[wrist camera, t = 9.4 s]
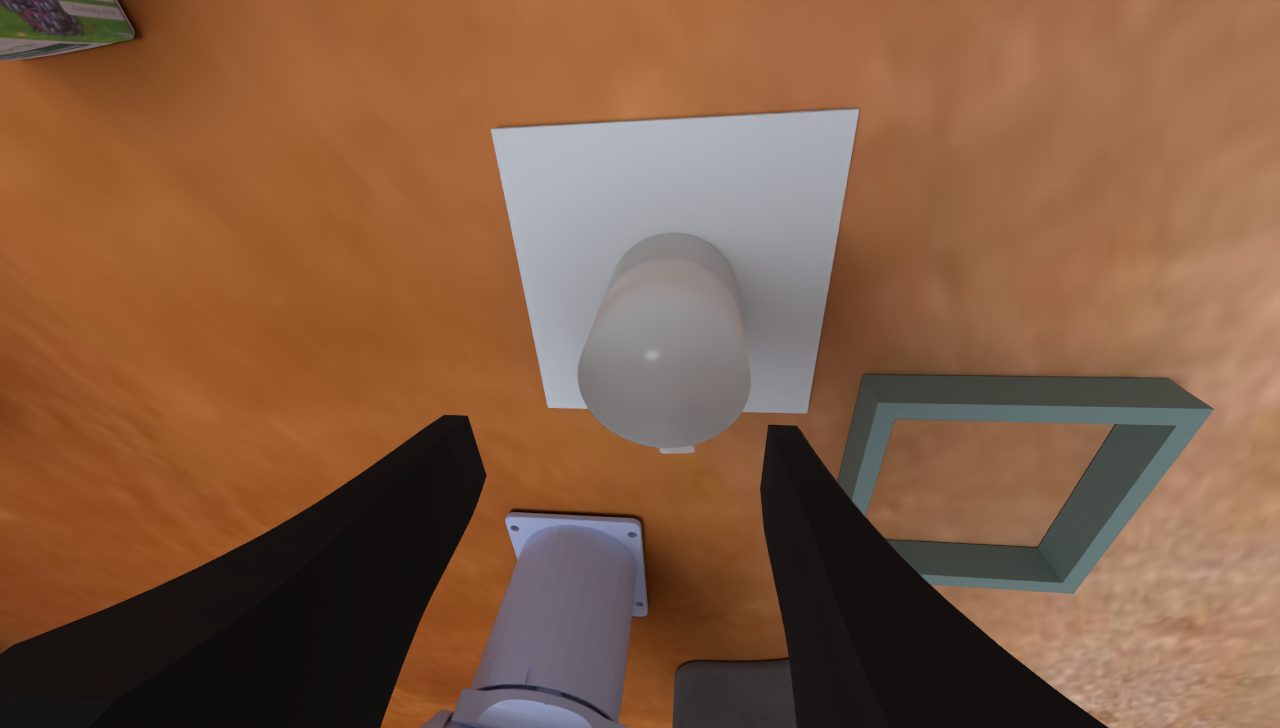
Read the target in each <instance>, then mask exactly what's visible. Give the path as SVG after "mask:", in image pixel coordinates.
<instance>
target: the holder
mask: <svg viewBox="0 0 1280 728" xmlns="http://www.w3.org/2000/svg"><path fill="white" fill-rule="evenodd" d="M1213 410H1214V409H1213V408H1212V407H1210V406H1209V405H1207V404H1206V403H1204V402H1203V401H1201V400H1199V399H1198V398H1196V397H1195V396H1193V395H1192V394H1190V393H1189V392H1187V391H1186V390H1184V389H1183V388H1181V387H1180V386H1178V385H1177V384H1175V383H1174V382H1172V381H1171V380H1169V379H1168V378H1101V377H1019V376H937V375H863V378H862V382H861V386H860V390H859V395H858V399H857V403H856V407H855V411H854V415H853V419H852V424H851V428H850V432H849V436H848V440H847V444H846V449H845V453H844V457H843V461H842V465H841V469H840V474H839V478H838V484H839V485H840V486H841V487H842V489H843V490H844V491H845V493H846V494H847V495H848V496H849V498H850V499H851V500H852V501H853V503H854V504H855V505H856V506H857V507H858V509H859V510H860V511H861V512H862V513H863V515H864V516H866V513H867V510H868V506H869V503H870V500H871V496H872V493H873V490H874V486H875V483H876V480H877V477H878V473H879V470H880V467H881V463H882V460H883V457H884V453H885V450H886V447H887V444H888V440H889V437H890V434H891V430H892V427H893V424H894V420H895V419H916V420H959V421H1003V422H1046V423H1089V424H1116V425H1115V426H1114V428H1113V430H1112V431H1111V433H1110V434H1109V436H1108V438H1107V439H1106V441H1105V442H1104V444H1103V445H1102V447H1101V449H1100V450H1099V452H1098V453H1097V455H1096V456H1095V458H1094V460H1093V461H1092V463H1091V464H1090V466H1089V468H1088V469H1087V471H1086V472H1085V474H1084V475H1083V477H1082V479H1081V480H1080V482H1079V483H1078V485H1077V487H1076V488H1075V490H1074V491H1073V493H1072V494H1071V496H1070V498H1069V499H1068V501H1067V502H1066V504H1065V505H1064V507H1063V509H1062V510H1061V512H1060V513H1059V515H1058V517H1057V518H1056V520H1055V521H1054V523H1053V524H1052V526H1051V528H1050V529H1049V531H1048V532H1047V534H1046V535H1045V537H1044V539H1043V540H1042V542H1041V543H1040V545H1039V547H1038V548H1033V547H1014V546H995V545H976V544H958V543H939V542H920V541H901V540H887V542H888V543H889V544H890V545H891V546H892V547H893V548H894V549H895V550H896V551H897V552H898V553H899V554H900V555H901V556H902V557H903V558H904V559H905V560H906V561H907V562H908V563H909V564H910V565H911V566H912V567H913V568H914V569H915V570H916V571H917V572H918V573H919V574H920V575H921V576H922V577H923V578H924V579H925V580H926V581H927V582H928V583H929V584H930V585H944V586H960V587H976V588H991V589H1007V590H1023V591H1038V592H1054V593H1070V594H1074V592H1075V591H1076V590H1077V588H1078V587H1079V586H1080V584H1081V583H1082V582H1083V581H1084V579H1085V578H1086V577H1087V575H1088V574H1089V573H1090V571H1091V570H1092V569H1093V567H1094V566H1095V565H1096V563H1097V562H1098V561H1099V560H1100V558H1101V557H1102V556H1103V554H1104V553H1105V552H1106V550H1107V549H1108V548H1109V546H1110V545H1111V544H1112V542H1113V541H1114V540H1115V538H1116V537H1117V536H1118V535H1119V533H1120V532H1121V531H1122V529H1123V528H1124V527H1125V525H1126V524H1127V523H1128V521H1129V520H1130V519H1131V517H1132V516H1133V515H1134V514H1135V512H1136V511H1137V510H1138V508H1139V507H1140V506H1141V504H1142V503H1143V502H1144V500H1145V499H1146V498H1147V496H1148V495H1149V494H1150V493H1151V491H1152V490H1153V489H1154V487H1155V486H1156V485H1157V483H1158V482H1159V481H1160V479H1161V478H1162V477H1163V475H1164V474H1165V473H1166V472H1167V470H1168V469H1169V468H1170V466H1171V465H1172V464H1173V462H1174V461H1175V460H1176V458H1177V457H1178V456H1179V454H1180V453H1181V452H1182V450H1183V449H1184V448H1185V447H1186V445H1187V444H1188V443H1189V441H1190V440H1191V439H1192V437H1193V436H1194V435H1195V433H1196V432H1197V431H1198V429H1199V428H1200V427H1201V426H1202V424H1203V423H1204V422H1205V420H1206V419H1207V418H1208V416H1209V415H1210V414H1211V412H1212V411H1213Z"/></svg>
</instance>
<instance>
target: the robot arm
mask: <svg viewBox="0 0 1280 728" xmlns="http://www.w3.org/2000/svg"><path fill="white" fill-rule="evenodd" d="M485 479H486V473H485V470H484V466H483V463H482V460H481V457H480V454H479V450H478V447H477V444H476V441H475V438H474V434H473V431H472V428H471V425H470V422H469V419H468V416H460V415H444V416H442V417H440V418H439V419H437V420H436V421H434V422H433V423H431V424H430V425H428V426H427V427H425V428H424V429H423V430H421V431H420V432H418V433H417V434H416V435H414V436H413V437H411V438H410V439H409V440H407V441H406V442H405V443H403V444H402V445H400V446H399V447H398V448H396V449H395V450H393V451H392V452H391V453H389V454H388V455H386V456H385V457H384V458H382V459H381V460H379V461H378V462H377V463H375V464H374V465H372V466H371V467H370V468H368V469H367V470H365V471H364V472H362V473H361V474H359V475H358V476H356V477H355V478H353V479H352V480H350V481H349V482H347V483H346V484H344V485H343V486H341V487H340V488H338V489H337V490H335V491H334V492H332V493H331V494H329V495H328V496H326V497H325V498H323V499H322V500H320V501H319V502H317V503H315V504H314V505H312V506H311V507H309V508H307V509H306V510H304V511H302V512H301V513H299V514H297V515H296V516H294V517H292V518H291V519H289V520H287V521H285V522H284V523H282V524H280V525H278V526H277V527H275V528H273V529H271V530H270V531H268V532H266V533H264V534H263V535H261V536H259V537H257V538H255V539H253V540H251V541H249V542H247V543H245V544H244V545H242V546H240V547H238V548H236V549H234V550H232V551H230V552H228V553H226V554H224V555H222V556H220V557H218V558H216V559H214V560H212V561H210V562H208V563H206V564H204V565H202V566H200V567H198V568H196V569H194V570H192V571H190V572H188V573H186V574H184V575H181V576H179V577H177V578H175V579H173V580H171V581H168V582H166V583H164V584H162V585H160V586H157V587H155V588H153V589H151V590H148V591H146V592H144V593H142V594H139V595H137V596H135V597H132V598H130V599H128V600H126V601H123V602H121V603H118V604H116V605H114V606H111V607H109V608H106V609H104V610H102V611H99V612H97V613H94V614H91V615H89V616H86V617H84V618H81V619H79V620H76V621H74V622H71V623H69V624H66V625H64V626H61V627H59V628H56V629H53V630H51V631H48V632H46V633H43V634H41V635H38V636H36V637H33V638H30V639H28V640H25V641H22V642H20V643H17V644H14V645H13V646H11V647H10V648H8V649H7V650H6V651H4V652H3V653H2V654H1V655H0V728H380V727H381V724H382V721H383V718H384V715H385V712H386V709H387V706H388V704H389V701H390V698H391V695H392V693H393V690H394V687H395V684H396V682H397V679H398V676H399V673H400V671H401V668H402V665H403V663H404V660H405V658H406V655H407V652H408V650H409V647H410V645H411V642H412V640H413V637H414V635H415V632H416V630H417V627H418V625H419V622H420V620H421V618H422V615H423V613H424V611H425V609H426V607H427V605H428V602H429V600H430V598H431V596H432V594H433V592H434V590H435V588H436V587H437V585H438V583H439V581H440V579H441V577H442V575H443V573H444V571H445V569H446V567H447V565H448V563H449V561H450V559H451V557H452V555H453V553H454V551H455V549H456V547H457V546H458V544H459V542H460V540H461V538H462V536H463V534H464V532H465V530H466V528H467V526H468V524H469V522H470V519H471V517H472V515H473V513H474V510H475V508H476V505H477V502H478V500H479V497H480V494H481V491H482V488H483V485H484V482H485ZM760 491H761V503H762V514H763V524H764V532H765V537H766V542H767V547H768V552H769V557H770V562H771V567H772V571H773V576H774V581H775V586H776V591H777V595H778V600H779V605H780V610H781V615H782V619H783V624H784V629H785V635H786V641H787V647H788V654H789V663H790V671H791V680H792V688H793V697H794V706H795V715H796V725H797V728H1108V727H1107V726H1105V725H1104V724H1102V723H1101V722H1100V721H1098V720H1097V719H1095V718H1094V717H1093V716H1091V715H1090V714H1088V713H1087V712H1086V711H1084V710H1083V709H1081V708H1080V707H1079V706H1077V705H1076V704H1074V703H1073V702H1072V701H1070V700H1069V699H1067V698H1066V697H1065V696H1063V695H1062V694H1061V693H1059V692H1058V691H1057V690H1055V689H1054V688H1053V687H1052V686H1050V685H1049V684H1048V683H1046V682H1045V681H1044V680H1043V679H1041V678H1040V677H1039V676H1037V675H1036V674H1035V673H1034V672H1032V671H1031V670H1030V669H1029V668H1027V667H1026V666H1025V665H1023V664H1022V663H1021V662H1020V661H1018V660H1017V659H1016V658H1014V657H1013V656H1012V655H1011V654H1009V653H1008V652H1007V651H1006V650H1004V649H1003V648H1002V647H1001V646H1000V645H998V644H997V643H996V642H995V641H994V640H993V639H991V638H990V637H989V636H988V635H987V634H986V633H984V632H983V631H982V630H981V629H980V628H979V627H977V626H976V625H975V624H974V623H973V622H972V621H970V620H969V619H968V618H967V617H966V616H965V615H963V614H962V613H961V612H960V611H959V610H958V609H956V608H955V607H954V606H953V605H952V604H951V603H949V602H948V601H947V600H946V599H945V598H944V597H943V596H942V595H941V594H940V593H939V592H938V591H937V590H935V589H934V588H933V587H932V586H931V585H930V584H929V583H928V582H927V581H926V580H925V579H924V578H923V577H922V576H921V575H920V574H919V573H918V572H917V571H916V570H915V569H914V568H913V567H912V566H911V565H910V564H909V563H908V562H907V561H906V560H905V559H904V558H903V557H902V556H901V555H900V554H899V553H898V552H897V551H896V550H895V549H894V548H893V547H892V546H891V545H890V544H889V543H888V542H887V540H886V539H885V538H884V537H883V536H882V535H881V534H880V533H879V532H878V530H877V529H876V528H875V527H874V526H873V525H872V524H871V523H870V521H869V520H868V519H867V518H866V517H865V516H864V515H863V513H862V512H861V511H860V510H859V509H858V507H857V506H856V505H855V504H854V503H853V501H852V500H851V499H850V498H849V496H848V495H847V494H846V493H845V491H844V490H843V489H842V487H841V486H840V485H839V484H838V482H837V481H836V480H835V479H834V477H833V476H832V475H831V473H830V472H829V471H828V469H827V468H826V467H825V465H824V464H823V462H822V461H821V460H820V458H819V457H818V455H817V454H816V453H815V451H814V450H813V448H812V447H811V445H810V444H809V442H808V441H807V439H806V438H805V436H804V435H803V433H802V432H801V430H800V429H799V428H798V427H797V426H788V425H768V432H767V439H766V447H765V455H764V463H763V471H762V479H761V487H760ZM505 522H506V525H507V528H508V532H509V535H510V538H511V541H512V544H513V547H514V550H515V553H516V557H517V560H518V561H517V564H516V566H515V569H514V572H513V574H512V577H511V580H510V583H509V585H508V588H507V591H506V593H505V596H504V599H503V602H502V604H501V607H500V610H499V612H498V615H497V618H496V620H495V623H494V626H493V629H492V631H491V634H490V637H489V639H488V642H487V645H486V648H485V650H484V653H483V656H482V658H481V661H480V664H479V666H478V669H477V672H476V675H475V677H474V680H473V683H472V685H471V688H470V689H466V688H464V689H463V690H462V692H461V695H460V697H459V700H458V703H457V705H456V708H455V710H454V712H453V711H449V710H445V709H442V710H440V711H439V712H437V713H436V714H435V716H434V717H432V718H431V719H429V720H428V721H427V722H425V723H424V724H423V725H422V726H421V727H420V728H626V727H625V725H624V724H620V723H618V721H619V714H620V710H621V703H622V695H623V687H624V679H625V671H626V663H627V655H628V647H629V639H630V630H631V622H632V616H639V617H643V616H646V615H647V613H648V601H647V589H646V577H645V565H644V553H643V541H642V530H641V523H640V522H639V521H638V520H637V519H634V518H619V517H599V516H579V515H560V514H540V513H521V512H511V513H509V514H508V515H507V517H506V519H505Z"/></svg>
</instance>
